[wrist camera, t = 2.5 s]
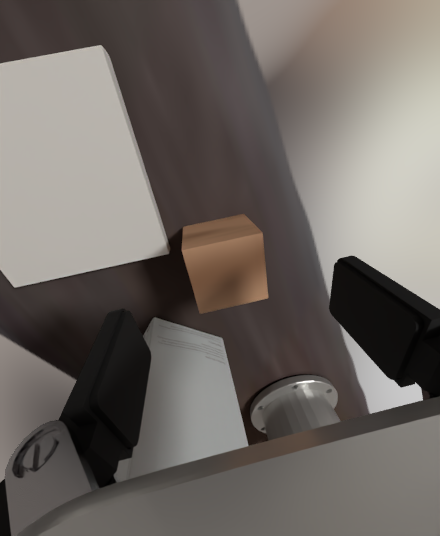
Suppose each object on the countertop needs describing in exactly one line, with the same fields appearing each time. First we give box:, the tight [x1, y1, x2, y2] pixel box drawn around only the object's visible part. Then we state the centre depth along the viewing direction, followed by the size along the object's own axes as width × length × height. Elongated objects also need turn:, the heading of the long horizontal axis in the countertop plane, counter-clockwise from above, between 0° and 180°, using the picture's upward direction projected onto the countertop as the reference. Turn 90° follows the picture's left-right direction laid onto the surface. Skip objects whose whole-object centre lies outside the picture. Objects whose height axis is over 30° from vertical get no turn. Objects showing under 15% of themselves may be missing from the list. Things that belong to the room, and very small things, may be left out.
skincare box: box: [116, 317, 248, 481], centre depth 16 cm, size 8×6×15 cm
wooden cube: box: [182, 214, 268, 314], centre depth 16 cm, size 5×5×5 cm
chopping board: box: [0, 45, 170, 288], centre depth 14 cm, size 12×12×1 cm
